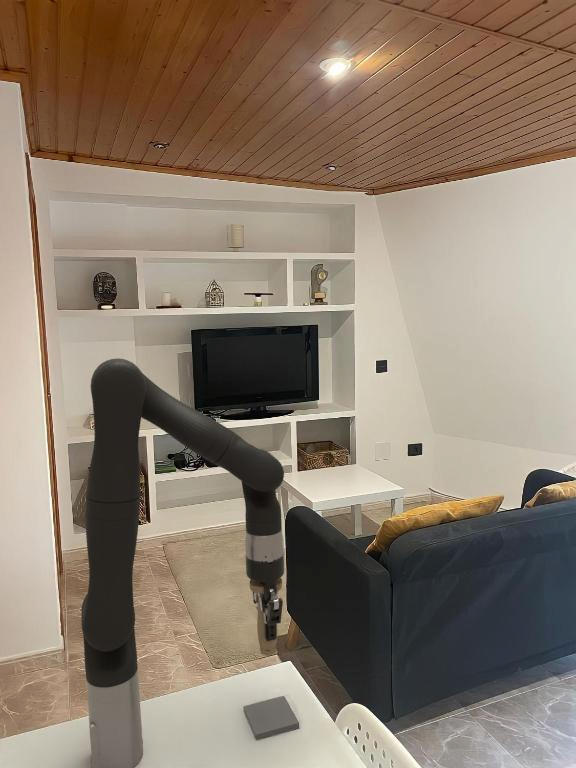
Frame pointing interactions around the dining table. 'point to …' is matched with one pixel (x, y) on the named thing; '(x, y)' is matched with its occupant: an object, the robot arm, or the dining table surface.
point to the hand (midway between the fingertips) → (267, 633)
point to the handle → (265, 646)
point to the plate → (270, 717)
